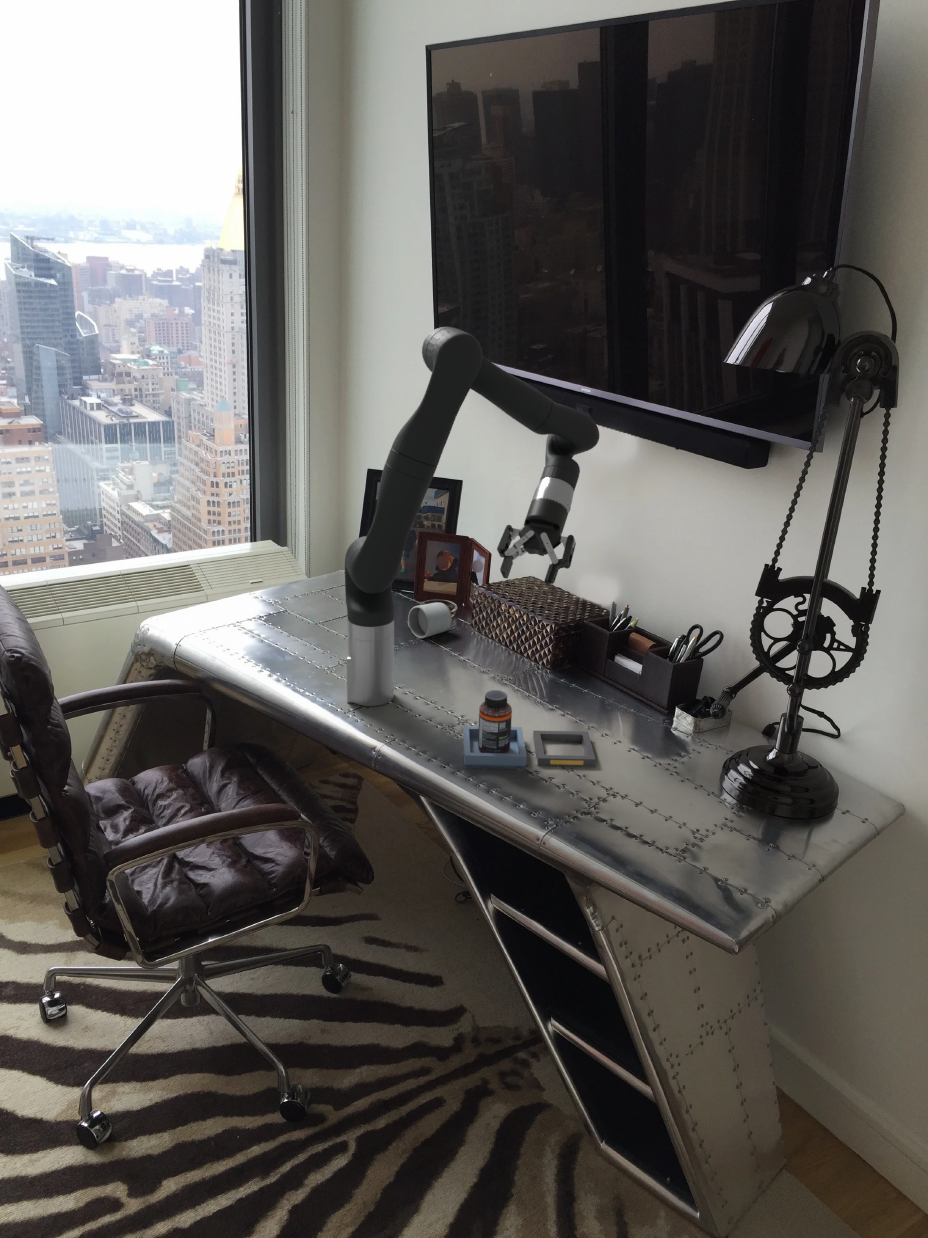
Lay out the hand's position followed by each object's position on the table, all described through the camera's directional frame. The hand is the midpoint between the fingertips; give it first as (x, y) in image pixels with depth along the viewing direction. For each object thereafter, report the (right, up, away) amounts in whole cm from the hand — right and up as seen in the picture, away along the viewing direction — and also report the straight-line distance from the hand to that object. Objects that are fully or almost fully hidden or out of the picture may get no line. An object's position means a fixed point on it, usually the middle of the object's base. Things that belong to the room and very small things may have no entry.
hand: (525, 580), depth 186 cm
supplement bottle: (-6, -32, -3) cm, 32 cm away
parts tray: (-6, -32, -3) cm, 33 cm away
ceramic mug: (-21, -11, +49) cm, 54 cm away
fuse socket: (+7, -32, -2) cm, 33 cm away
